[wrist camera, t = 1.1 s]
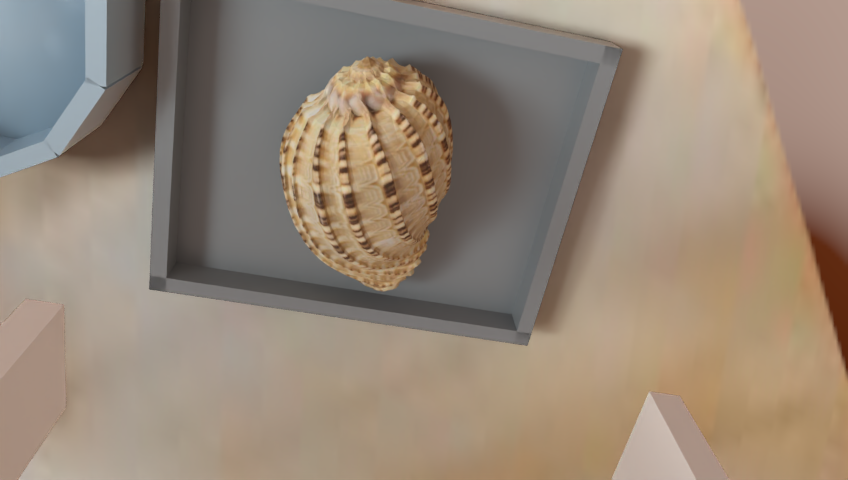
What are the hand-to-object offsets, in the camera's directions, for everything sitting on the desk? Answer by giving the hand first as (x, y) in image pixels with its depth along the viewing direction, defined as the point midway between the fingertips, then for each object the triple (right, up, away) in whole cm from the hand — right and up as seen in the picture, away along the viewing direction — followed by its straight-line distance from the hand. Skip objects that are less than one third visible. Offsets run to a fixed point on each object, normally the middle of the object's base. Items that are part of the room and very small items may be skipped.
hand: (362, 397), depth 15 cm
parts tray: (-1, +7, +14) cm, 16 cm away
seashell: (-1, +7, +14) cm, 16 cm away
